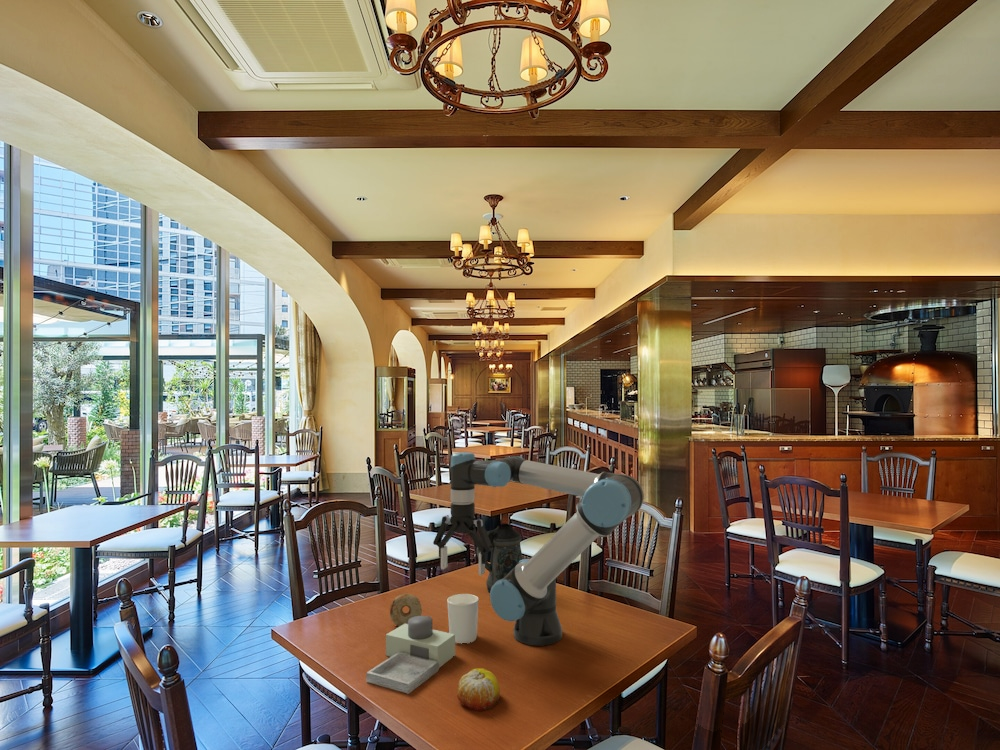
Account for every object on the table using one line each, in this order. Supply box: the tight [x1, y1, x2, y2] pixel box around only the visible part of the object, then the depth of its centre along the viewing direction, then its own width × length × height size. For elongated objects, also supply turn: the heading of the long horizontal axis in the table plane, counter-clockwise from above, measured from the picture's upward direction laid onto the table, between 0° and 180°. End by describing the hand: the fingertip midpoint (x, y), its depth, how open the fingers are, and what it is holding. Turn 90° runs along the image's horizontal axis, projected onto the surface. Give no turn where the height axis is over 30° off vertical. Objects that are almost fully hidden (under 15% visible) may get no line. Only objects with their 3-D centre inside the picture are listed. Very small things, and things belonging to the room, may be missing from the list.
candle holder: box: [446, 593, 480, 645], centre depth 173 cm, size 10×10×12 cm
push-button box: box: [385, 615, 456, 668], centre depth 162 cm, size 18×9×10 cm, turn 62°
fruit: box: [456, 667, 501, 711], centre depth 137 cm, size 11×10×8 cm
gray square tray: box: [365, 652, 440, 695], centre depth 150 cm, size 14×14×2 cm
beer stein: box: [476, 523, 523, 594], centre depth 216 cm, size 16×19×25 cm
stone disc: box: [389, 593, 423, 627], centre depth 183 cm, size 10×4×10 cm, turn 97°
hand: (462, 571), depth 174 cm, fingers open, 13 cm apart
